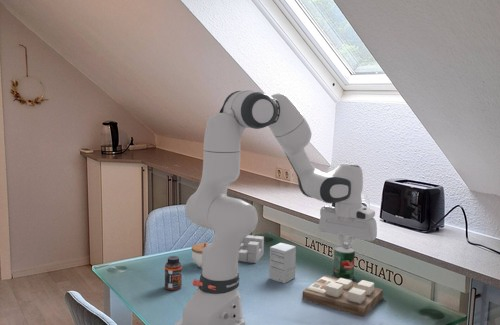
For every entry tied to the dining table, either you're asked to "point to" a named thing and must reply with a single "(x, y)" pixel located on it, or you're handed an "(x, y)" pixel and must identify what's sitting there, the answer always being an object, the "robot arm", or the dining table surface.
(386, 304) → the dining table surface
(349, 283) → the button far left
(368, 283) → the button far right
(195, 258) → the lidded jar
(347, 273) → the canned tomato
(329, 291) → the button near left
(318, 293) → the button board
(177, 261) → the supplement bottle
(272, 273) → the supplement box
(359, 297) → the button near right
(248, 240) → the puzzle cube
